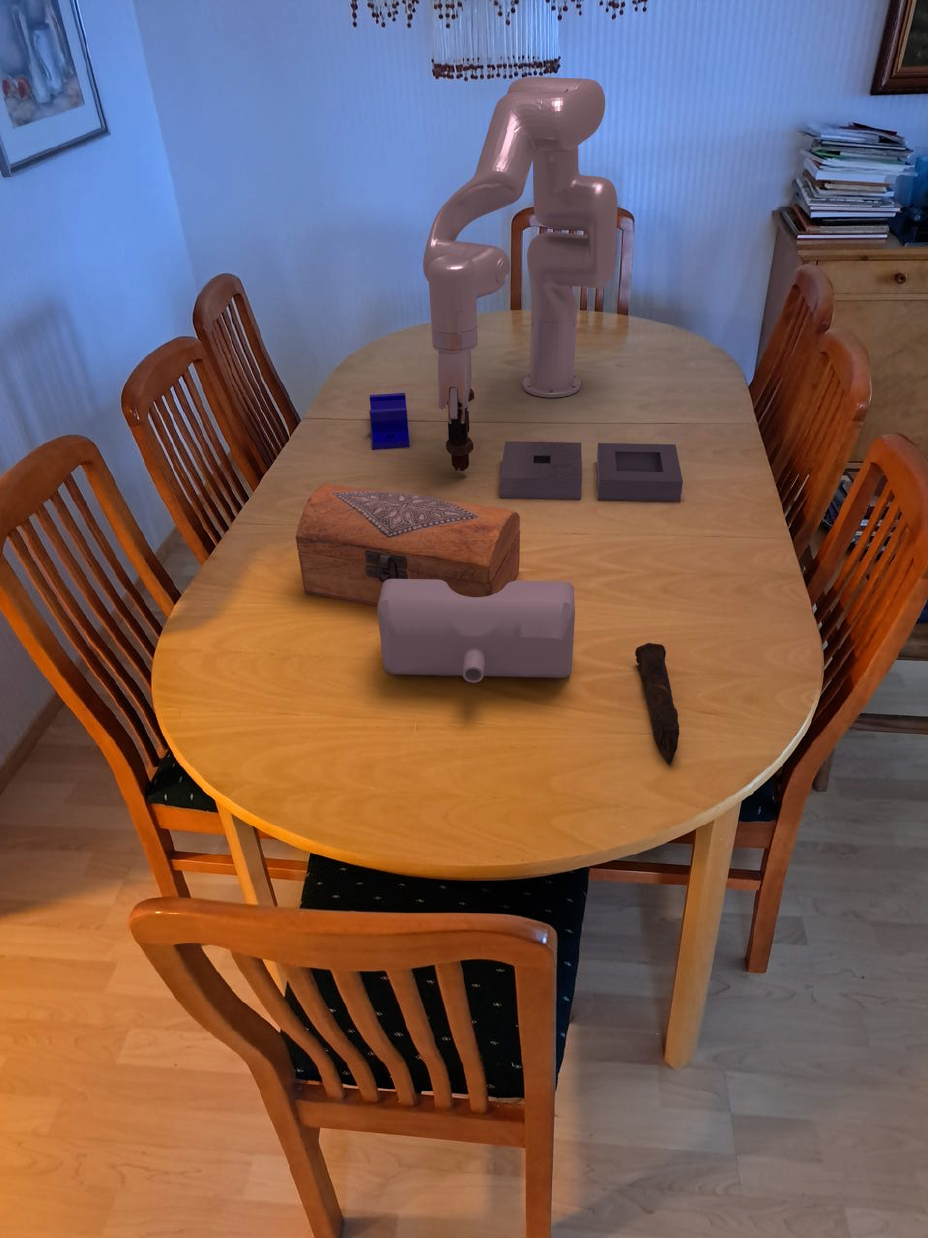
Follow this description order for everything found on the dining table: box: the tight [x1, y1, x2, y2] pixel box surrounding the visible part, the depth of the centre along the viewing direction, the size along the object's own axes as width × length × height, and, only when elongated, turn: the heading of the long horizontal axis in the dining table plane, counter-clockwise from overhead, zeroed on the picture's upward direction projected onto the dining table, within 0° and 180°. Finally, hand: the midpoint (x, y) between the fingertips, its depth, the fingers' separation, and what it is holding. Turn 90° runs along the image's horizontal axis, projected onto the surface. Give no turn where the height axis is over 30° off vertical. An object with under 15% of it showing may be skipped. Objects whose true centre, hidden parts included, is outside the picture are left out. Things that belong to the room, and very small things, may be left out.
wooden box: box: [295, 483, 521, 607], centre depth 133 cm, size 30×16×14 cm, turn 71°
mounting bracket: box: [369, 392, 411, 451], centre depth 180 cm, size 18×7×6 cm, turn 5°
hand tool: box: [634, 642, 680, 765], centre depth 112 cm, size 19×4×5 cm, turn 176°
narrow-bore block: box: [499, 440, 583, 501], centre depth 161 cm, size 14×14×4 cm
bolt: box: [445, 388, 475, 472], centre depth 159 cm, size 6×5×15 cm
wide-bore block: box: [595, 442, 684, 503], centre depth 160 cm, size 14×14×4 cm
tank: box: [376, 579, 576, 683], centre depth 117 cm, size 25×16×12 cm, turn 86°
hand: (459, 436), depth 160 cm, fingers closed on bolt, 3 cm apart
